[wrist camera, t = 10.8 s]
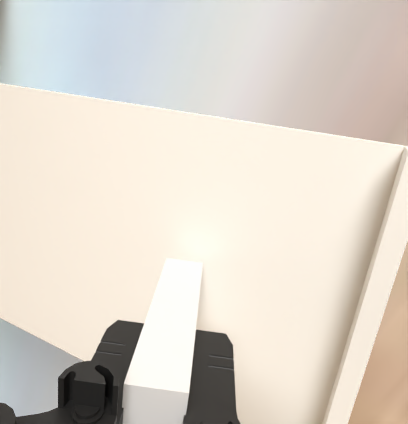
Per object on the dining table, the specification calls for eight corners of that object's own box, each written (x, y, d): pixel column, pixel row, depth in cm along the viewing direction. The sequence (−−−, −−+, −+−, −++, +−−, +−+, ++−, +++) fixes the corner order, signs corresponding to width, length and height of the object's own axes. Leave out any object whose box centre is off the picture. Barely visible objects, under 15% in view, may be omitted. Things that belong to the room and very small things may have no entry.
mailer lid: (435, 155, 9) (425, 148, 11) (-122, 66, 18) (-76, 71, 20) (315, 520, 13) (323, 470, 15) (-88, 295, 22) (-53, 282, 24)
